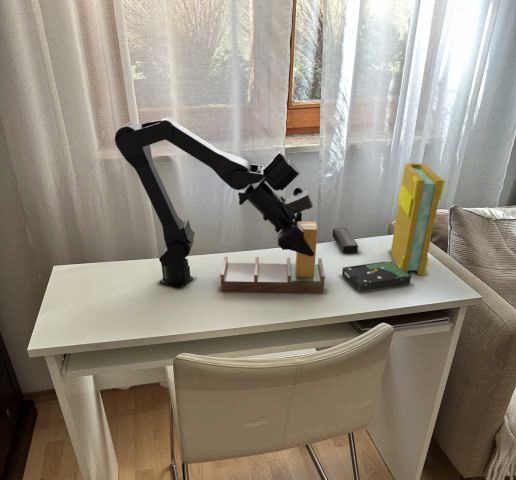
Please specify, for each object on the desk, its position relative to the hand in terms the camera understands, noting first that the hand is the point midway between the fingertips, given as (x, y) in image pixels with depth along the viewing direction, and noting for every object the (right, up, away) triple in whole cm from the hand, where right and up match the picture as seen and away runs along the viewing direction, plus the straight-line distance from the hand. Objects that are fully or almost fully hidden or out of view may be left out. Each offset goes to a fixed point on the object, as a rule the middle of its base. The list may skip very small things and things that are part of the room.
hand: (312, 247), depth 124 cm
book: (+28, -1, +17) cm, 33 cm away
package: (-2, -5, +4) cm, 7 cm away
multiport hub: (+13, +7, +28) cm, 32 cm away
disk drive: (+17, -7, +7) cm, 20 cm away
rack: (-10, -8, +6) cm, 14 cm away
